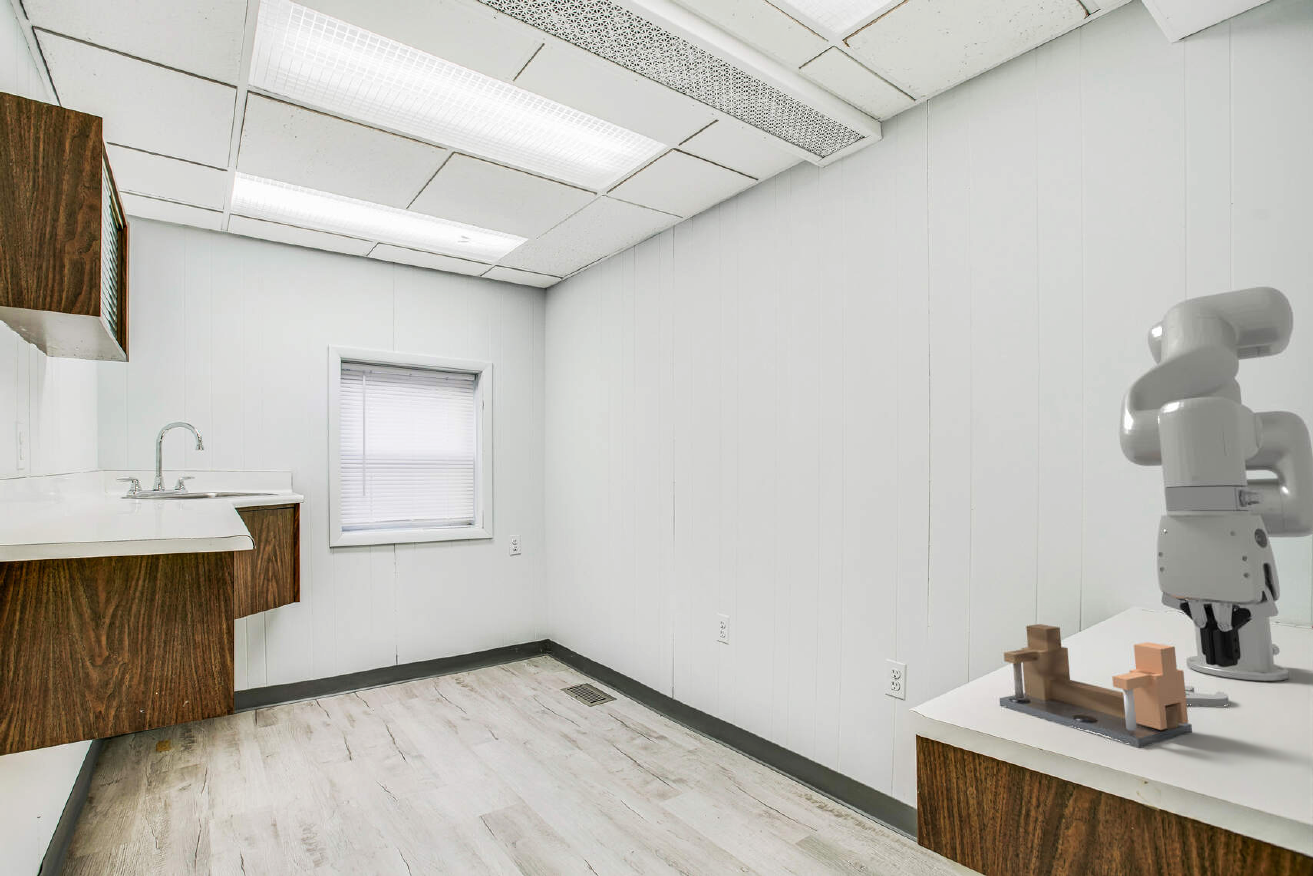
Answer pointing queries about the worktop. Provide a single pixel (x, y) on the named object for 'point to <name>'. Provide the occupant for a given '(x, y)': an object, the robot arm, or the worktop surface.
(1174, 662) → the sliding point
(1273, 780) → the worktop surface
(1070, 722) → the flange plate
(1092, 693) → the trammel bar
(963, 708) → the worktop surface
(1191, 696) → the adjustable wrench
